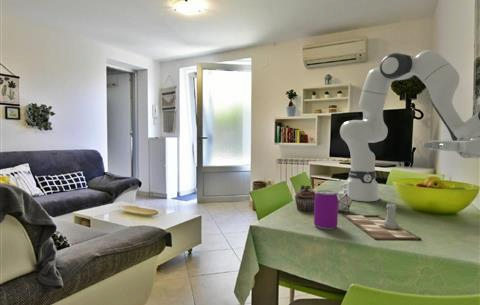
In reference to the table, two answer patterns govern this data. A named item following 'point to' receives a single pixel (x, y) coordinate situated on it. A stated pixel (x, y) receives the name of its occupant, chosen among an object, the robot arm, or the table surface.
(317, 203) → the beverage can
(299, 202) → the cupcake
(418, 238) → the board
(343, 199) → the game die
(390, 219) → the rook chess piece
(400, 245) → the table surface
